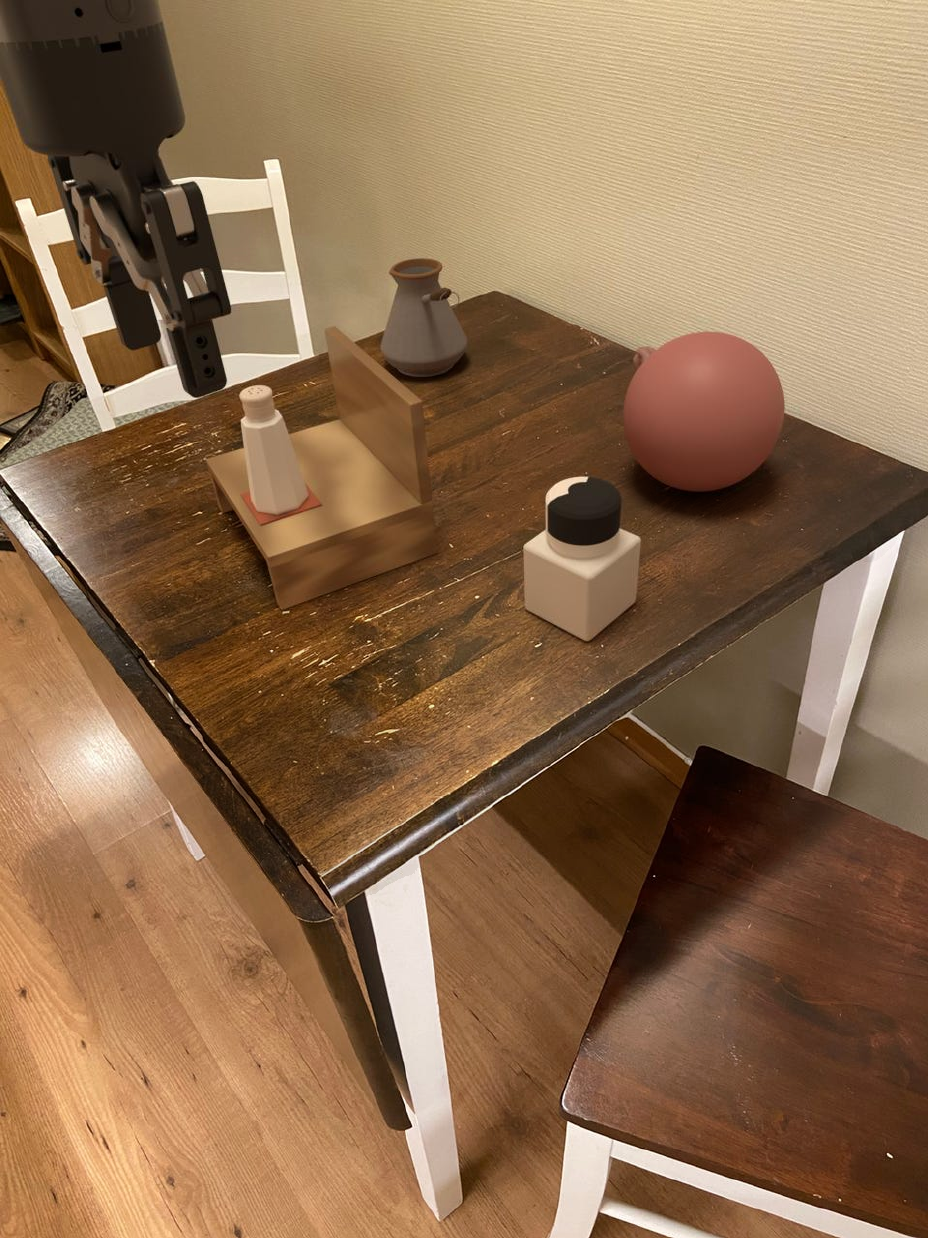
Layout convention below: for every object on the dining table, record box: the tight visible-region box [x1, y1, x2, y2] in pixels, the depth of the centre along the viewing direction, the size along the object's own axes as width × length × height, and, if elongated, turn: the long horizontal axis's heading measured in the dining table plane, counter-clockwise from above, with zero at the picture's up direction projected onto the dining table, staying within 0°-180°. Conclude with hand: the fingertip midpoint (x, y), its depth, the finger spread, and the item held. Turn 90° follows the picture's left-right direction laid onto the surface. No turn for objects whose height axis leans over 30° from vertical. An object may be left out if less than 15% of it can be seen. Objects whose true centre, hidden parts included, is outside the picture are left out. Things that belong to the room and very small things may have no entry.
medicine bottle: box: [523, 476, 642, 642], centre depth 74 cm, size 7×7×12 cm
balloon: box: [622, 331, 786, 493], centre depth 89 cm, size 15×20×15 cm
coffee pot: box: [379, 257, 468, 378], centre depth 109 cm, size 21×12×15 cm, turn 17°
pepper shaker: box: [238, 384, 309, 515], centre depth 79 cm, size 5×5×11 cm
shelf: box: [205, 325, 439, 611], centre depth 84 cm, size 16×20×16 cm
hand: (173, 367), depth 49 cm, fingers open, 8 cm apart
